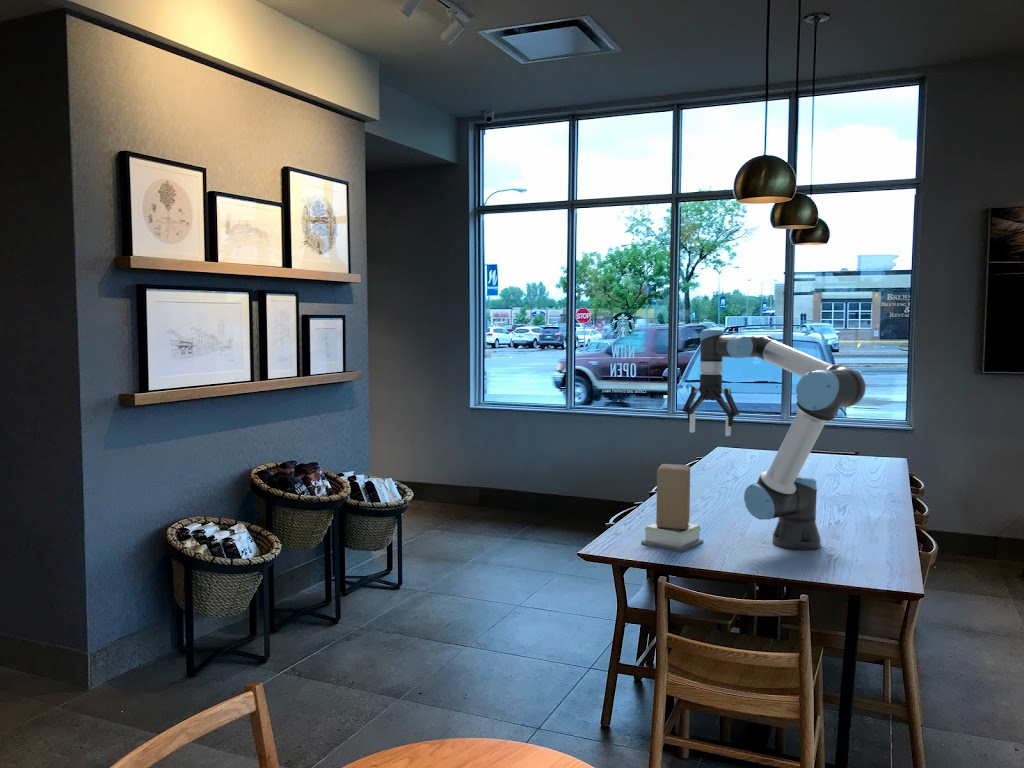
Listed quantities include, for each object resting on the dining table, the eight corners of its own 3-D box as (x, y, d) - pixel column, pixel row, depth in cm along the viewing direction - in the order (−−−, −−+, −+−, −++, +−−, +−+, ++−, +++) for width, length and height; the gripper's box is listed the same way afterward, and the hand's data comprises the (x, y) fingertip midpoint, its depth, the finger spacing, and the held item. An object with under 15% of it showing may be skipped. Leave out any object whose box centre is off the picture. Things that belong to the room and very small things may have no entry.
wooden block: (689, 523, 271) (690, 464, 269) (686, 530, 261) (687, 469, 260) (659, 521, 274) (660, 463, 272) (655, 528, 264) (656, 468, 263)
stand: (703, 542, 269) (703, 525, 268) (681, 552, 258) (682, 534, 257) (663, 535, 279) (664, 518, 278) (641, 544, 267) (641, 526, 267)
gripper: (749, 374, 274) (748, 436, 276) (683, 371, 290) (682, 429, 292) (740, 375, 268) (738, 438, 270) (673, 372, 284) (672, 431, 286)
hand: (709, 434), depth 281 cm, fingers open, 13 cm apart
